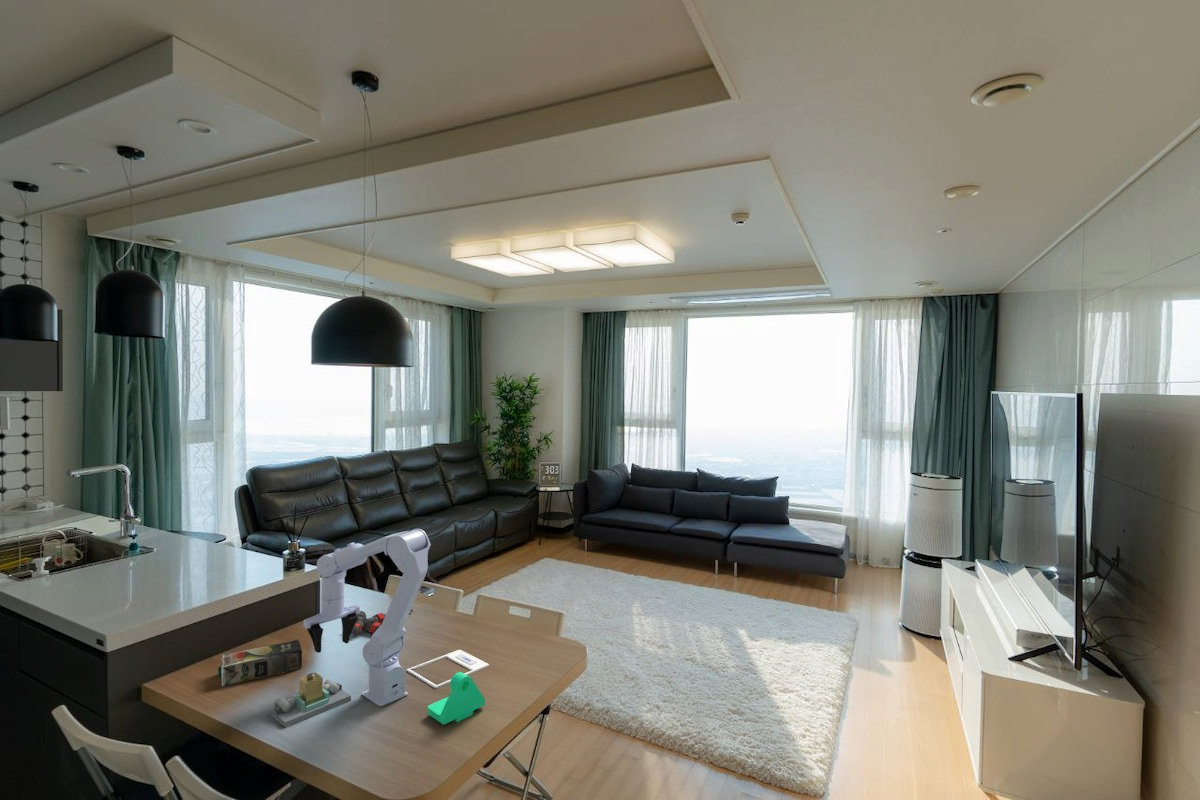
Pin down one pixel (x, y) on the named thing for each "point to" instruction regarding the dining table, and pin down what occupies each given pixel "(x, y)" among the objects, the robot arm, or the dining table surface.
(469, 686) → the camera mount
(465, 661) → the photo frame
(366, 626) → the black red power tool
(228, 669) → the juice carton
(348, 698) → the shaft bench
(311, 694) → the coupling block
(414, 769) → the dining table surface
